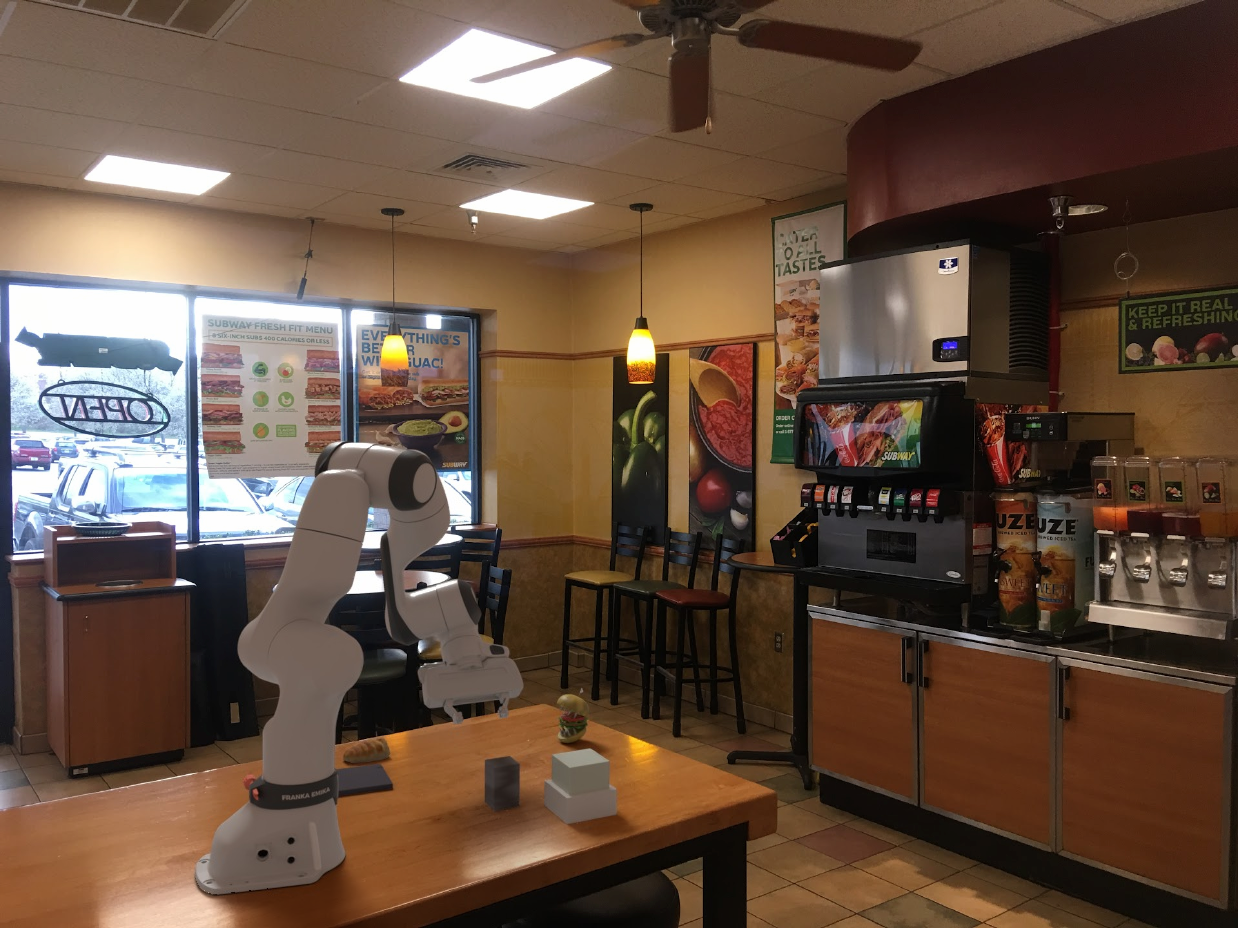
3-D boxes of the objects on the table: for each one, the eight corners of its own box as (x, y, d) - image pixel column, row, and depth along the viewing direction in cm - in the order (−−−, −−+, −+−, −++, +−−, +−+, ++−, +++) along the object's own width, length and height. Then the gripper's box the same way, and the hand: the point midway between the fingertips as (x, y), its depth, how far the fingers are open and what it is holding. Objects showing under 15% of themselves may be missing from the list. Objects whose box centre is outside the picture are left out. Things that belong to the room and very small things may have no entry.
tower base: (566, 825, 173) (566, 798, 173) (544, 806, 182) (544, 780, 182) (616, 816, 178) (616, 788, 178) (592, 797, 187) (592, 771, 187)
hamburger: (551, 737, 222) (552, 685, 222) (581, 734, 225) (581, 682, 225) (563, 747, 215) (563, 693, 215) (593, 744, 218) (594, 690, 218)
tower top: (569, 795, 174) (569, 767, 174) (551, 780, 182) (551, 754, 181) (609, 788, 178) (609, 760, 178) (590, 774, 185) (590, 748, 185)
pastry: (351, 767, 202) (351, 749, 202) (337, 759, 207) (337, 741, 207) (392, 758, 208) (392, 740, 208) (378, 750, 213) (378, 733, 213)
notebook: (277, 807, 181) (393, 791, 190) (277, 798, 181) (393, 783, 190) (271, 784, 193) (381, 770, 201) (271, 776, 193) (381, 763, 201)
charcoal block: (494, 810, 179) (494, 767, 179) (484, 801, 183) (484, 759, 183) (519, 806, 181) (519, 763, 181) (509, 797, 186) (509, 755, 186)
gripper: (419, 655, 193) (434, 717, 185) (515, 646, 203) (533, 704, 194) (412, 673, 197) (426, 734, 189) (507, 663, 207) (524, 721, 198)
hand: (481, 719), depth 191 cm, fingers open, 8 cm apart
